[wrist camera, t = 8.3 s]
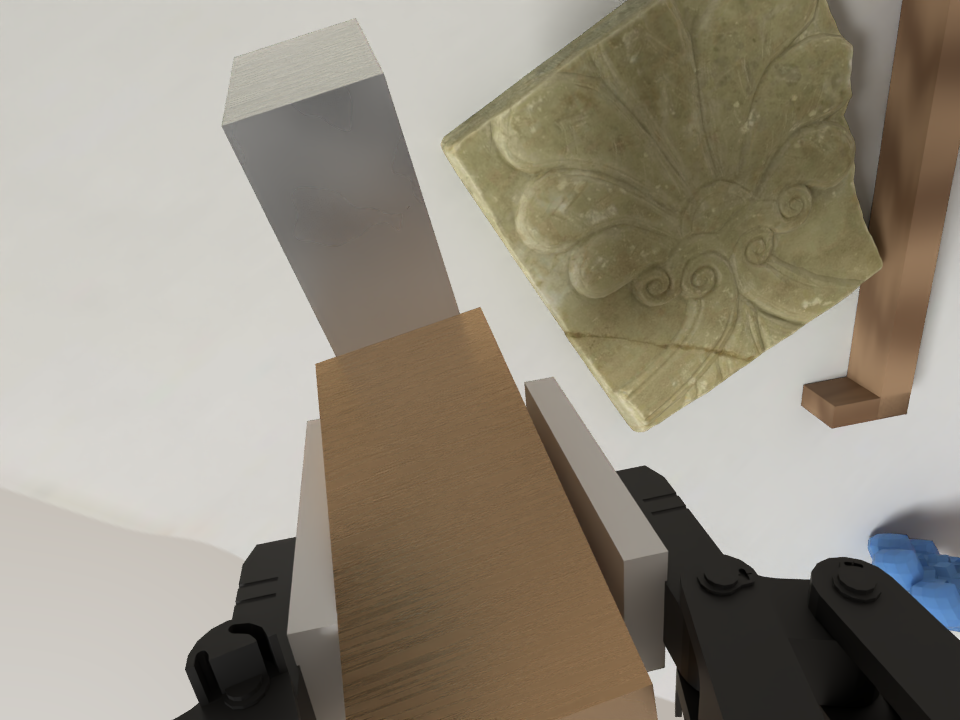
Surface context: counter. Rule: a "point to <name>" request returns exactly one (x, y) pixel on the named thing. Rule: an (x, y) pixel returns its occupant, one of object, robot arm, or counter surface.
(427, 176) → the counter surface
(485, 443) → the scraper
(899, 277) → the brown wooden bar
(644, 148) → the decorative tile
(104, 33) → the counter surface
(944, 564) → the blue knobbed flower
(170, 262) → the counter surface
